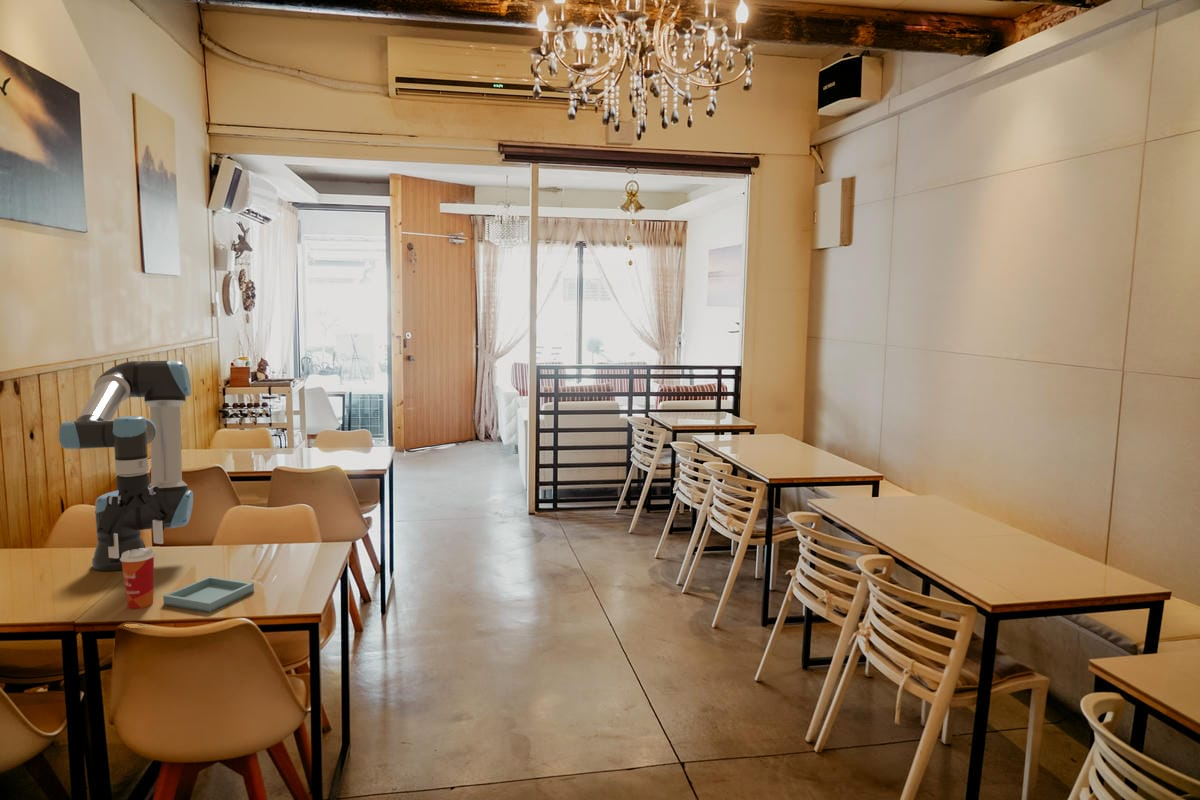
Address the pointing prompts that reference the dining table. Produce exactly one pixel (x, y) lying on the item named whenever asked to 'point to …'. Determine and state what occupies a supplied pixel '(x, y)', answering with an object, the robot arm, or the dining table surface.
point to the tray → (208, 594)
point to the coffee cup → (138, 577)
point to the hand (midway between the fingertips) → (137, 550)
